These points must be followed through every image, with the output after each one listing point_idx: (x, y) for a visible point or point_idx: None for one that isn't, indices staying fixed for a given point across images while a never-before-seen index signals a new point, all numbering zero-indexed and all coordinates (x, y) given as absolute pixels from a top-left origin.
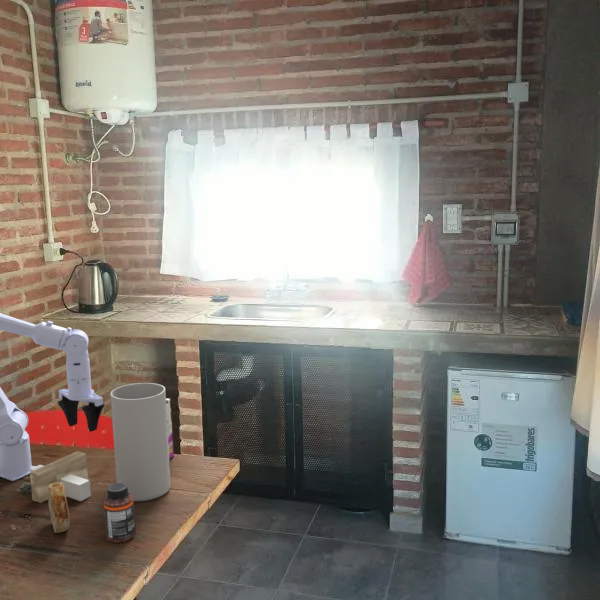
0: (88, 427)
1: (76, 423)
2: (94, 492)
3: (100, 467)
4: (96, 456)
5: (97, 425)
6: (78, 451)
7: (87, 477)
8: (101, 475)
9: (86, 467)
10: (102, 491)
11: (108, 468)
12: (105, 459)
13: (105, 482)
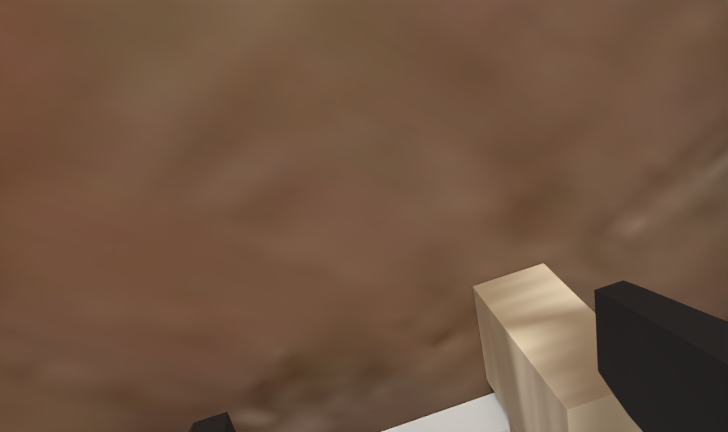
0: (642, 418)
1: (228, 424)
2: (690, 292)
3: (444, 123)
4: (216, 41)
5: (669, 300)
6: (576, 408)
7: (551, 274)
8: (557, 176)
9: (592, 315)
10: (717, 258)
11: (506, 88)
12: (338, 16)
13: (653, 200)
